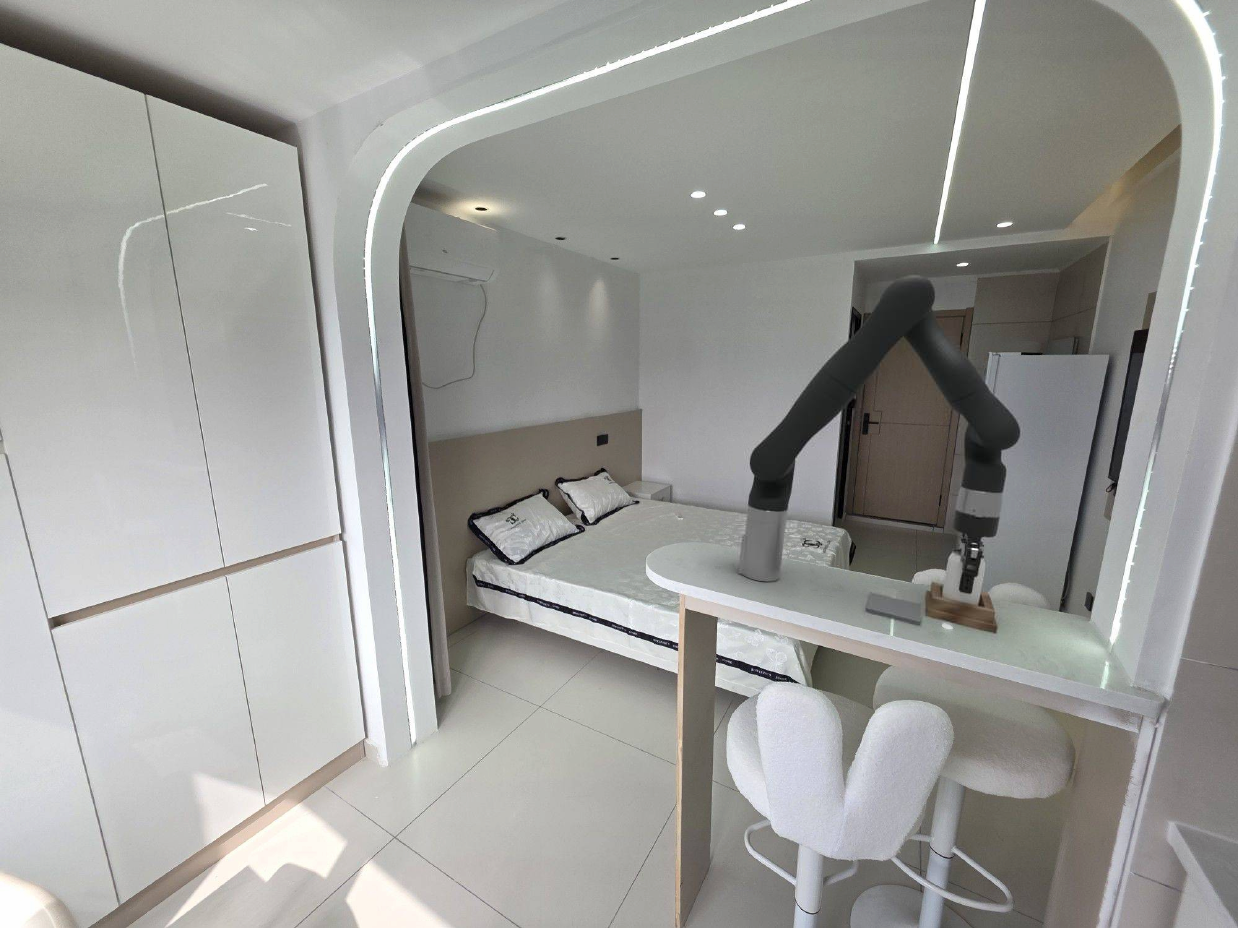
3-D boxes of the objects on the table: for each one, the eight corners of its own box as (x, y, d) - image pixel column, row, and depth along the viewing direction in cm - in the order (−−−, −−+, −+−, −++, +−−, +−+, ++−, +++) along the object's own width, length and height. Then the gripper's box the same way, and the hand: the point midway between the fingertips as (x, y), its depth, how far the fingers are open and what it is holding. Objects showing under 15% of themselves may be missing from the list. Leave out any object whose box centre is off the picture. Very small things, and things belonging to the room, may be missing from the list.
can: (958, 614, 102) (968, 559, 100) (933, 600, 108) (942, 548, 106) (984, 613, 104) (995, 558, 102) (958, 599, 110) (967, 548, 108)
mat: (865, 611, 105) (865, 607, 104) (869, 595, 113) (870, 592, 113) (920, 625, 100) (920, 621, 99) (920, 607, 108) (920, 604, 108)
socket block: (925, 615, 104) (928, 598, 103) (925, 596, 114) (928, 579, 114) (996, 633, 98) (1000, 614, 97) (989, 611, 108) (992, 593, 108)
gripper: (953, 501, 110) (941, 572, 113) (958, 514, 98) (944, 593, 101) (995, 507, 106) (981, 580, 109) (1005, 521, 94) (989, 604, 97)
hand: (963, 586), depth 105 cm, fingers closed on can, 6 cm apart
